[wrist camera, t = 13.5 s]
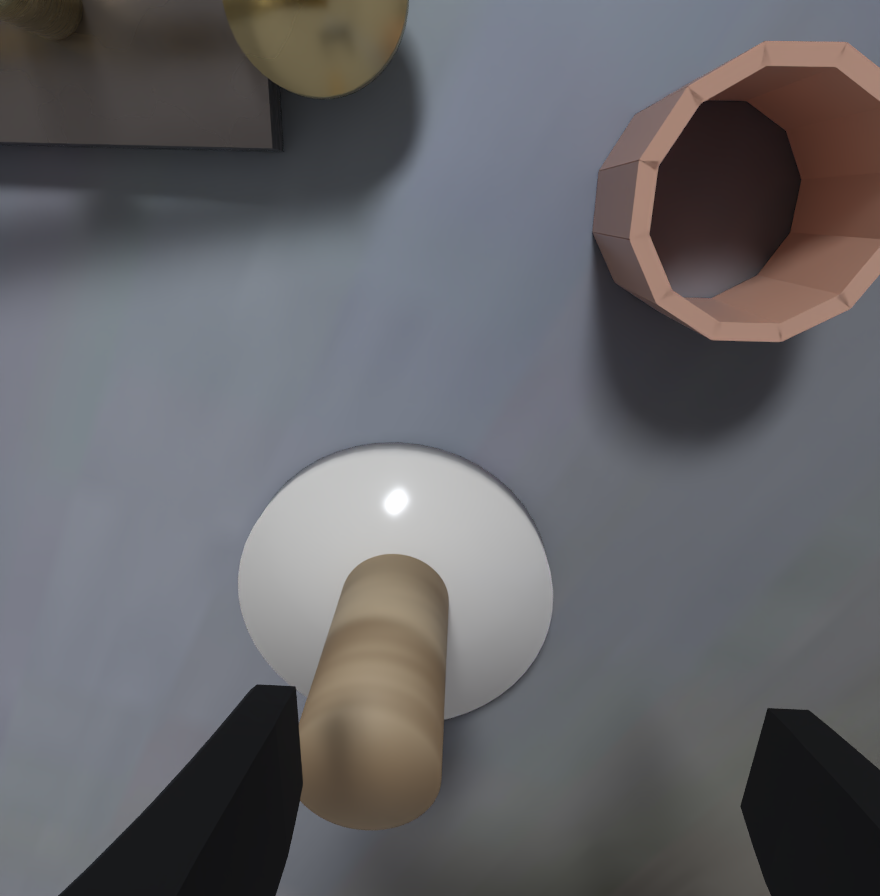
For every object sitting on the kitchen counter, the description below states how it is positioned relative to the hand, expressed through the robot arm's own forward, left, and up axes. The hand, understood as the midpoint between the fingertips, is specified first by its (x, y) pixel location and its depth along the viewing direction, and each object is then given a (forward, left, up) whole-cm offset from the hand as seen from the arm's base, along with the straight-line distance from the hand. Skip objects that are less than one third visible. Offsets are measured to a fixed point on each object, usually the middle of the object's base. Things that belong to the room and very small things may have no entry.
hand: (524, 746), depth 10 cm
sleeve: (+8, -5, -10) cm, 14 cm away
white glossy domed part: (-4, +3, -10) cm, 12 cm away
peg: (-4, +3, -9) cm, 10 cm away
